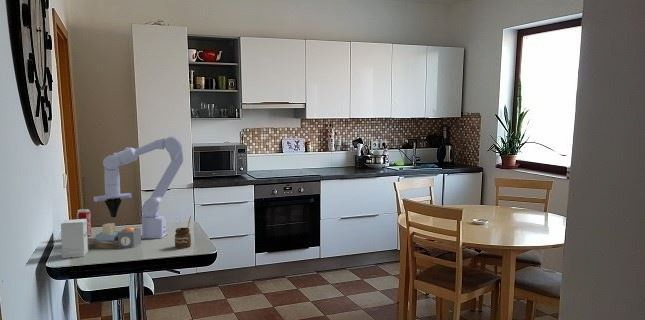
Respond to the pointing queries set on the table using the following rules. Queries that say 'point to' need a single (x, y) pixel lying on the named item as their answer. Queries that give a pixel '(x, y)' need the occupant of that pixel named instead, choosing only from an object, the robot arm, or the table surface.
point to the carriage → (108, 233)
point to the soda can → (85, 215)
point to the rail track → (101, 243)
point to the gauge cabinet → (129, 238)
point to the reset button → (128, 229)
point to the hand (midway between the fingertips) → (113, 216)
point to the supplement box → (74, 238)
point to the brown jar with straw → (182, 237)
